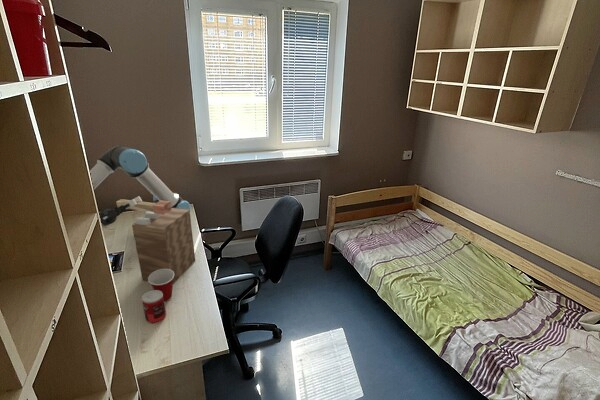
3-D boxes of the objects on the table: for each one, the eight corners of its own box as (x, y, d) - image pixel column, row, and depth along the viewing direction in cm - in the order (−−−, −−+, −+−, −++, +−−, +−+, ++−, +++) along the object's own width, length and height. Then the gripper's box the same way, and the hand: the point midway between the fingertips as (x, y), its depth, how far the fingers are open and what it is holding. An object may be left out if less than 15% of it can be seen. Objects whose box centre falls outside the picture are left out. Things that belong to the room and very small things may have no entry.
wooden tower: (168, 256, 179) (161, 206, 168) (195, 260, 176) (189, 209, 165) (142, 280, 159) (131, 225, 148) (172, 285, 156) (163, 229, 145)
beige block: (124, 203, 156) (122, 196, 155) (171, 209, 151) (170, 201, 150) (115, 208, 151) (113, 200, 149) (163, 214, 146) (162, 206, 144)
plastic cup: (151, 308, 141) (146, 285, 137) (152, 293, 151) (148, 271, 146) (177, 303, 145) (174, 280, 140) (177, 288, 154) (174, 266, 150)
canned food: (149, 311, 140) (145, 290, 135) (168, 310, 140) (165, 289, 136) (142, 324, 132) (138, 302, 128) (163, 323, 133) (159, 301, 129)
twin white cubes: (148, 215, 158) (148, 210, 157) (160, 217, 156) (159, 212, 155) (135, 224, 149) (134, 219, 148) (147, 225, 148) (146, 220, 147)
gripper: (120, 218, 166) (153, 200, 158) (96, 232, 152) (130, 214, 143) (112, 205, 165) (144, 187, 156) (86, 218, 150) (120, 199, 142)
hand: (137, 200), depth 150 cm, fingers closed on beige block, 3 cm apart
